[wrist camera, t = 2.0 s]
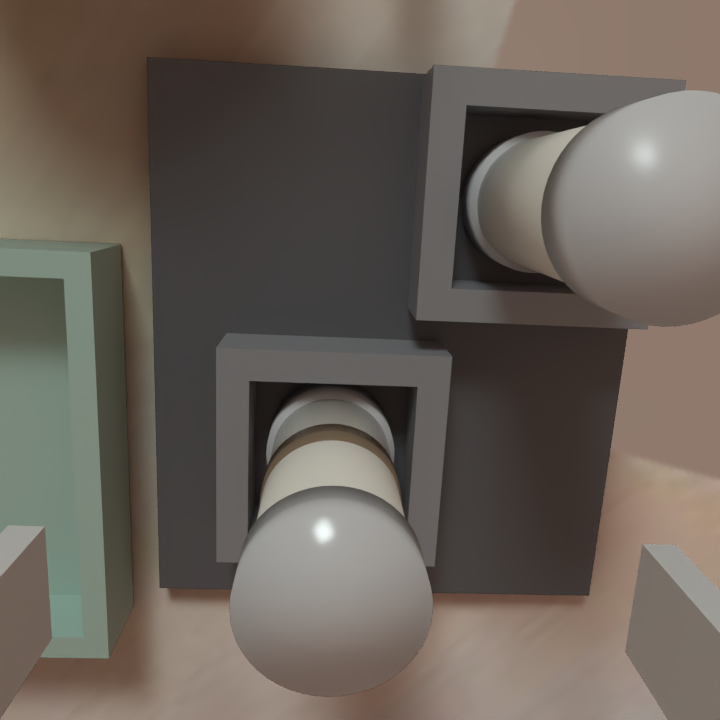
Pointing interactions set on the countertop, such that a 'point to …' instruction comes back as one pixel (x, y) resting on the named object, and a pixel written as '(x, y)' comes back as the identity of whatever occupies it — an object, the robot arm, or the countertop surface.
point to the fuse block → (418, 291)
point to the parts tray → (68, 431)
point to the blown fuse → (330, 552)
